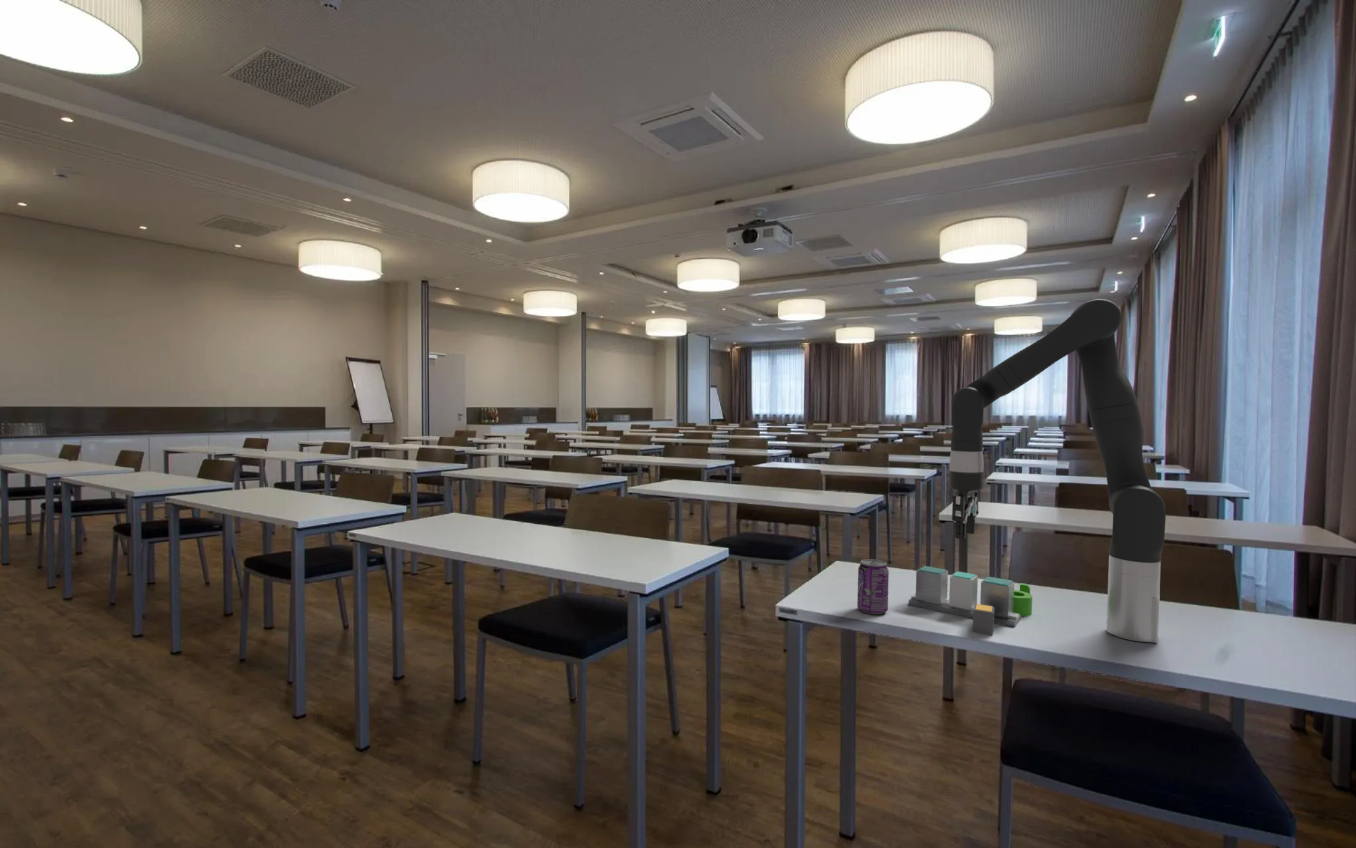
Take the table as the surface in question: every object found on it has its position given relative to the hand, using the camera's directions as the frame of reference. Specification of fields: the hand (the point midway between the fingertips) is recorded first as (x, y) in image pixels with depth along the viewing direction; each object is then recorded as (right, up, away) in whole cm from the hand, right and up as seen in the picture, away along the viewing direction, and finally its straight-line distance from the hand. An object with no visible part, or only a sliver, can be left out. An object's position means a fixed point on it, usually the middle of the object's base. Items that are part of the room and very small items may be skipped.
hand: (965, 535), depth 152 cm
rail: (0, -19, +1) cm, 19 cm away
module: (0, -17, +1) cm, 17 cm away
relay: (-1, -19, -12) cm, 23 cm away
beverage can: (-23, -19, 0) cm, 29 cm away
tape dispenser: (+15, -19, +5) cm, 25 cm away
